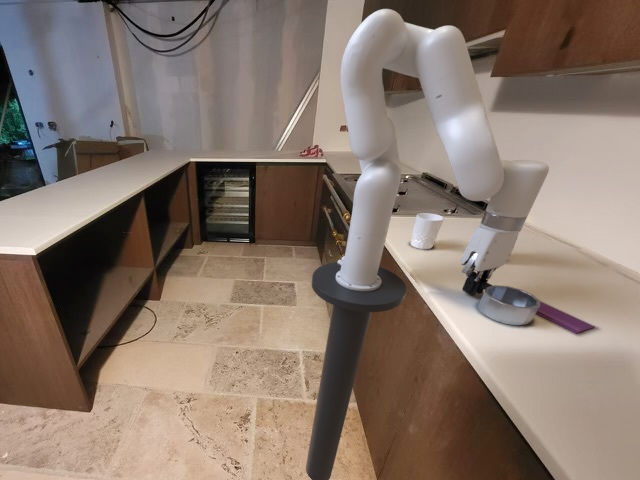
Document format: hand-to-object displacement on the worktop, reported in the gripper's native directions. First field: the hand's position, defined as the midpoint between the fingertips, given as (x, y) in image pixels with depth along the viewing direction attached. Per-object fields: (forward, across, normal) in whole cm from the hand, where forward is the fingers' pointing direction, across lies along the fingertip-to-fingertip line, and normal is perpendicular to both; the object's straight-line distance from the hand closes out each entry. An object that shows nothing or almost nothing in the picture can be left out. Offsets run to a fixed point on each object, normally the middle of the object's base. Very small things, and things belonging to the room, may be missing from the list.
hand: (471, 291), depth 81 cm
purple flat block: (+1, -10, +13) cm, 16 cm away
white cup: (+1, -14, -30) cm, 33 cm away
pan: (+1, 0, +6) cm, 6 cm away
